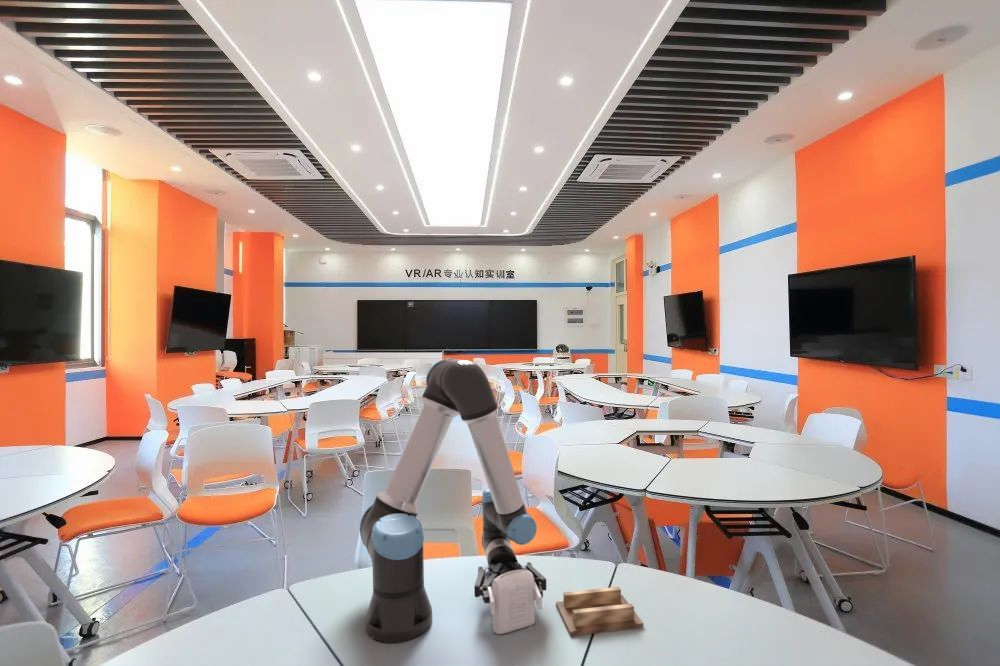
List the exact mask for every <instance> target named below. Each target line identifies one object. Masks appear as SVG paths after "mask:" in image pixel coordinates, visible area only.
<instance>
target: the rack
mask: <svg viewBox="0 0 1000 666" xmlns="http://www.w3.org/2000/svg"><path fill="white" fill-rule="evenodd" d="M562 595H563V601H556V602H555V607H556V609H557V611H558V613H559V615H560V617H561V619H562V622H563V624H564V626H565V627H566V630H567V632H568V635H569V636H570V637H574V636H583V635H592V634H601V633H609V632H610V633H611V632H619V631H626V629H628V630H636V629H643V628H644V622H643V621H642V620H641V618H640V616H639V615H638V614H637V613H636V611H635V606H634V605H633V603H629V602H628V600H627V599H626V598H625V597H624V596H623V595H622V589H621V588H620V587H619V586H614V587H613V586H612V587H604V588H603V587H602V588H593V589H584V590H583V589H582V590H574V591H567V592H566V591H563V594H562ZM642 627H643V628H642ZM635 628H636V629H635Z"/></svg>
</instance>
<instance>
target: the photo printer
mask: <svg viewBox="0 0 1000 666" xmlns="http://www.w3.org/2000/svg"><path fill="white" fill-rule="evenodd" d="M492 594H493V597H494V601H495V614H491V624H492V631H493V632H494V633H495V634H497V635H502V634H506V633H511V632H513V631H517V630H520V629H523V628H527V627H530V626H532V625H534V624H535V622H536V617H535V616H536V614H535V613H536V612H535V611H536V610H535V608H536V606H535V604H536V601H535V589H534V577H533V574H532V572H530V571H529V570H513V571H509V572H506V573H504V574H502V575H500V576H498V577H496V578H495V579H494V580H493V581H492Z"/></svg>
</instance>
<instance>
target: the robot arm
mask: <svg viewBox="0 0 1000 666" xmlns="http://www.w3.org/2000/svg"><path fill="white" fill-rule="evenodd" d="M425 377H426V378H425V380H426V381H425V383H426V387H425V389H424V391H423V394H422V396H421V400H422V402H423V407H422V410H421V412H420V414H419V415H418V419H417V420H416V422H415V425H414V427H413V429H412V431H411V434H410V436H409V438H408V440H407V443H406V445H405V447H404V449H403V451H402V453H401V456H400V458H399V460H398V462H397V465H396V467H395V469H394V471H393V474H392V476H391V478H390V480H389V482H388V484H387V487H386V489H385V490H383V491H381V492H379V493H378V494H377V495H376V497H375V500H374V502H373V503H372V504H371V505H369V506H368V507H367V508H366V509H365V511H364V512H363V513H362V516H361V519H360V521H359V534H360V538H361V541H362V543H363V545H364V546H365V548H366V551H367V554H368V555H369V557H370V559H371V563H372V566H371V567H372V595H371V599H370V602H369V605H368V609H367V611H366V612H367V613H366V615H365V630H366V634H367V635H368V634H369V635H370V636H371V637H373V638H374V639H373V638H372V639H373V640H375V639H376V640H375V641H377V640H378V642H380V641H382V643H388V644H389V643H391V644H393V643H394V644H395V643H402V642H406V641H410V640H413V639H416V638H418V637H420V636H421V635H422V634H424V633H425V632H426V631H427V630H428V629H429V628H430V626H431V625H432V622H433V609H432V608H433V607H432V605H431V602H430V599H429V596H428V594H427V593H428V592H427V590H426V588H425V576H424V575H425V573H424V572H425V570H424V566H425V565H424V563H425V562H424V561H425V560H424V540H425V537H424V530H423V525H422V522H421V521H420V520H419V519H418V518H417V516H418V513H419V509H418V505H417V502H418V499H419V497H420V495H421V492H422V489H423V488H424V486H425V483H426V481H427V478H428V476H429V473H430V472H431V470H432V467H433V465H434V462H435V460H436V458H437V456H438V453H439V451H440V450H441V446H442V444H443V442H444V440H445V437H446V435H447V433H448V431H449V428H450V426H451V424H452V422H453V419H454V418H456V417H458V416H460V418H461V421H463V422H465V423H466V424H467V427H468V430H469V433H470V435H471V439H472V441H473V444H474V449H475V451H476V454H477V457H478V460H479V463H480V467H481V468H482V472H483V476H484V479H485V481H486V483H487V486H488V487H487V488H485V489H484V490H483V491H482V497H481V504H482V505H481V507H482V534H481V545H482V547H483V551H484V554H485V558H486V562H487V565H488V568H484V567H483V566H478V567H477V570H478V571H477V577H476V580H475V583H474V587H473V588H474V589H473V590H474V597H475V598H479V597H480V596H482V601H483V602H484V604H489V608H490V615H492V614H495V601H494V597H493V594H492V581H493V580H494V579H495V578H496V577H498V576H500V575H502V574H504V573H506V572H509V571H513V570H529V571H530V572H532V574H533V577H534V589H535V604H536V606H537V609H538V610H542V609H543V598H544V591H547V578H546V577H545V576H544V575H543V574H542V573H541V572H540V571H538V570H537V569H536V568H535V567H534V566H533V563H532V562H530V561H529V562H526V565H522V564H520V562H519V561H518V557H516V554H515V550H514V549H513V546H512V544H511V541H512V542H513V543H515V544H517V545H519V546H520V545H521V546H523V545H527V544H530V543H531V542H532V541H533V540H534V538H535V536H536V534H537V529H538V528H537V527H538V526H537V522H536V520H535V519H534V518H533V516H532V515H530V513H528V511H527V508H526V505H525V503H524V499H523V497H522V496H523V495H522V493H521V490H520V487H519V484H518V481H517V477H516V475H515V471H514V467H513V464H512V461H511V459H510V454H509V452H508V449H507V445H506V443H505V439H504V437H503V433H502V429H501V427H500V423H499V419H498V417H497V414H496V413H497V411H498V404H497V402H496V398H495V397H496V396H495V395H494V391H493V389H492V386H491V383H490V382H489V381H490V380H489V379H488V376H487V375H486V373H485V371H484V370H483V368H481V366H479V365H478V364H477V363H475V362H473V361H472V360H468V359H467V360H466V359H458V358H454V357H453V358H452V357H450V358H443V359H441V360H439V361H436V362H435V363H433V364H432V365H431V367H430V368H429V370H428V372H427V374H426V376H425ZM488 575H489V576H488ZM487 577H488V578H487ZM486 579H487V580H486ZM485 580H486V581H485ZM369 635H368V636H369ZM370 636H369V637H370ZM371 637H370V638H371Z"/></svg>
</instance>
